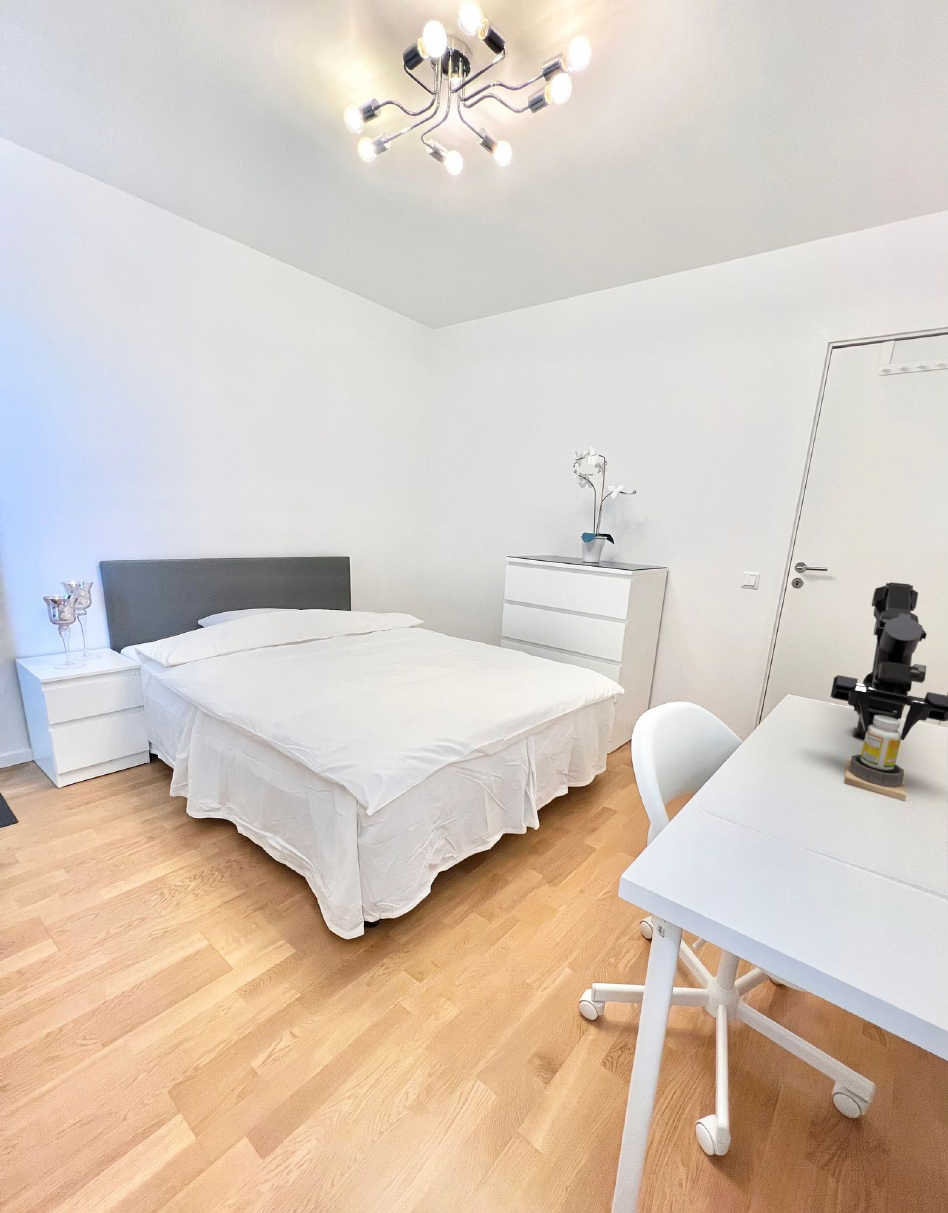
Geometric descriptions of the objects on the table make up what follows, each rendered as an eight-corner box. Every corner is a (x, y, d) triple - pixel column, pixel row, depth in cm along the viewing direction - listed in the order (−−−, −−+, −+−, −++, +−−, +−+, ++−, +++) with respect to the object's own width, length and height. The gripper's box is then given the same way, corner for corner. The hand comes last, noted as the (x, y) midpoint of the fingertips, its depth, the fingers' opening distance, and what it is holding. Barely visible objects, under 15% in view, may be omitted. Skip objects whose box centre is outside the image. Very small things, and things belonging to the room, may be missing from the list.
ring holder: (846, 765, 108) (849, 748, 108) (901, 780, 103) (905, 763, 102) (844, 783, 100) (847, 765, 100) (904, 800, 95) (908, 782, 94)
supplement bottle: (862, 766, 100) (871, 720, 98) (858, 755, 105) (867, 711, 103) (897, 774, 98) (907, 726, 96) (891, 762, 102) (901, 717, 100)
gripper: (841, 637, 105) (829, 702, 99) (964, 656, 94) (960, 730, 88) (836, 665, 113) (824, 728, 106) (949, 685, 102) (944, 756, 96)
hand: (884, 734), depth 99 cm, fingers closed on supplement bottle, 5 cm apart
